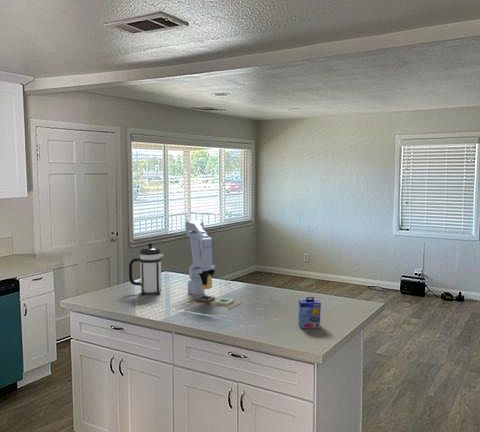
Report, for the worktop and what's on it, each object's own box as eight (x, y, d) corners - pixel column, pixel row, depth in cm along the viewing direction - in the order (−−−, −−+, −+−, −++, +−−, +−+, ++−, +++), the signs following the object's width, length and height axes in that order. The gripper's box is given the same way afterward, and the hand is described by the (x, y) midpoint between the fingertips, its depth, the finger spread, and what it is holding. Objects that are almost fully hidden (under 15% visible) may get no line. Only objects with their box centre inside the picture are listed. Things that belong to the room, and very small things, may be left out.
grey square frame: (195, 301, 265) (195, 298, 265) (203, 297, 271) (203, 295, 271) (207, 302, 261) (207, 300, 261) (214, 299, 268) (214, 296, 268)
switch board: (187, 303, 264) (187, 301, 263) (201, 297, 276) (201, 295, 276) (228, 310, 251) (228, 308, 251) (241, 303, 263) (241, 301, 263)
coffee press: (152, 288, 297) (152, 240, 294) (168, 292, 286) (168, 243, 283) (128, 293, 285) (127, 243, 282) (144, 298, 274) (143, 246, 271)
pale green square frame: (214, 304, 259) (214, 301, 259) (221, 300, 266) (221, 298, 265) (226, 306, 255) (226, 303, 255) (233, 302, 262) (233, 299, 262)
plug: (201, 288, 264) (201, 274, 263) (205, 286, 268) (205, 273, 267) (207, 289, 262) (207, 275, 261) (211, 287, 266) (211, 273, 265)
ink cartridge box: (299, 328, 222) (300, 298, 221) (297, 324, 228) (297, 294, 226) (320, 328, 223) (321, 297, 222) (318, 324, 229) (318, 294, 227)
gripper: (205, 262, 255) (205, 287, 256) (219, 258, 268) (219, 281, 269) (194, 261, 259) (194, 285, 260) (209, 256, 271) (209, 280, 272)
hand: (206, 283), depth 265 cm, fingers closed on plug, 4 cm apart
